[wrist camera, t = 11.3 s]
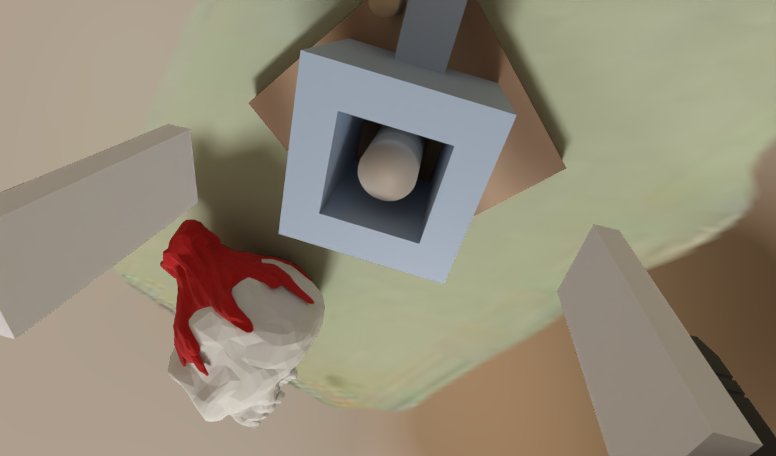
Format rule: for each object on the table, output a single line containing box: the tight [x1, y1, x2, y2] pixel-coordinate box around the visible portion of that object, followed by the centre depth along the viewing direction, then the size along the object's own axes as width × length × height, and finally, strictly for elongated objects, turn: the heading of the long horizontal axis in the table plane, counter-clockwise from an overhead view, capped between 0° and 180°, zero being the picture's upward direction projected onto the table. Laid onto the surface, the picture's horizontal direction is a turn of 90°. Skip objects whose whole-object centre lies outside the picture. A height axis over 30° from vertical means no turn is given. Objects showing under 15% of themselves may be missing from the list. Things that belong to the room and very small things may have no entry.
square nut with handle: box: [278, 0, 517, 284], centre depth 18 cm, size 12×8×7 cm
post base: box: [249, 0, 566, 216], centre depth 19 cm, size 13×13×7 cm
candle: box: [160, 220, 325, 428], centre depth 26 cm, size 9×11×15 cm
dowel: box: [368, 0, 405, 17], centre depth 17 cm, size 1×1×3 cm
